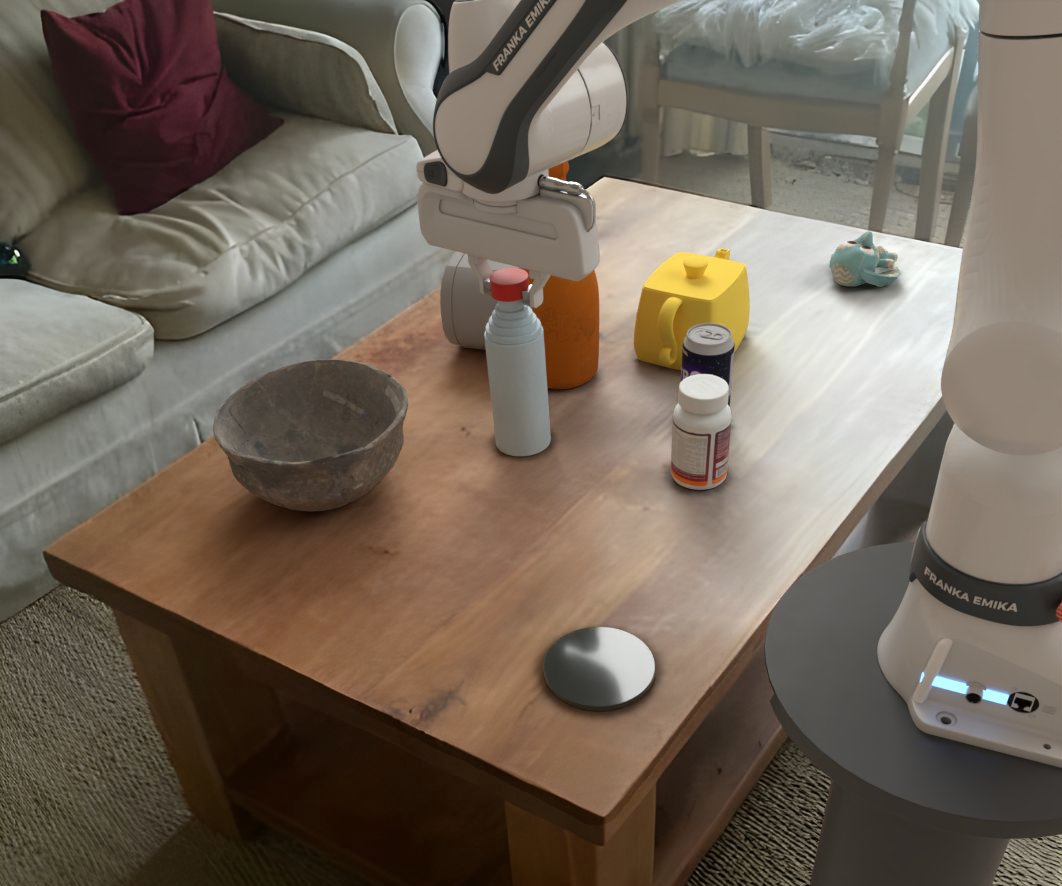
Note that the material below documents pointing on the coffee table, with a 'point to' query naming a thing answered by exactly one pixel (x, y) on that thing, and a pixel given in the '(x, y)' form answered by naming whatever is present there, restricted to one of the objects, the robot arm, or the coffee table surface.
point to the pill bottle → (701, 432)
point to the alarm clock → (465, 302)
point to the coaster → (599, 668)
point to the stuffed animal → (863, 263)
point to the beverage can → (708, 352)
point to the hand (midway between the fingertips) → (511, 298)
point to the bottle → (517, 379)
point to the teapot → (689, 304)
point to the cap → (508, 284)
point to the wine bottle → (569, 323)
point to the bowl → (313, 432)
